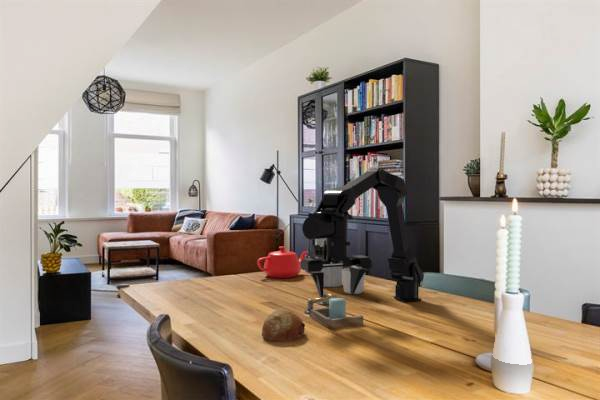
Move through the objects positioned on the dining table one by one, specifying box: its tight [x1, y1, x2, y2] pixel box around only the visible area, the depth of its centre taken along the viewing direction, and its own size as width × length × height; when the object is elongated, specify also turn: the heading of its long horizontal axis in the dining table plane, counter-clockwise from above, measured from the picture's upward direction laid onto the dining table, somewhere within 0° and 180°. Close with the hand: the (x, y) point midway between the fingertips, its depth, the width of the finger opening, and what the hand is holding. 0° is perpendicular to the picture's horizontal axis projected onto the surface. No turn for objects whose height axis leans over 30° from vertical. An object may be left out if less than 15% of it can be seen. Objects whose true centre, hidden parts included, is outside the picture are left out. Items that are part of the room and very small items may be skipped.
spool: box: [327, 297, 347, 319], centre depth 122 cm, size 5×5×6 cm
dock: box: [308, 306, 364, 329], centre depth 121 cm, size 10×12×2 cm
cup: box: [342, 267, 366, 295], centre depth 154 cm, size 11×8×8 cm
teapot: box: [256, 245, 309, 279], centre depth 188 cm, size 25×16×12 cm, turn 124°
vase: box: [314, 238, 343, 288], centre depth 169 cm, size 10×10×27 cm
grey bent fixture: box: [303, 290, 338, 315], centre depth 135 cm, size 12×12×4 cm
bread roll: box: [261, 309, 306, 343], centre depth 108 cm, size 10×10×8 cm
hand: (336, 295), depth 121 cm, fingers open, 9 cm apart
